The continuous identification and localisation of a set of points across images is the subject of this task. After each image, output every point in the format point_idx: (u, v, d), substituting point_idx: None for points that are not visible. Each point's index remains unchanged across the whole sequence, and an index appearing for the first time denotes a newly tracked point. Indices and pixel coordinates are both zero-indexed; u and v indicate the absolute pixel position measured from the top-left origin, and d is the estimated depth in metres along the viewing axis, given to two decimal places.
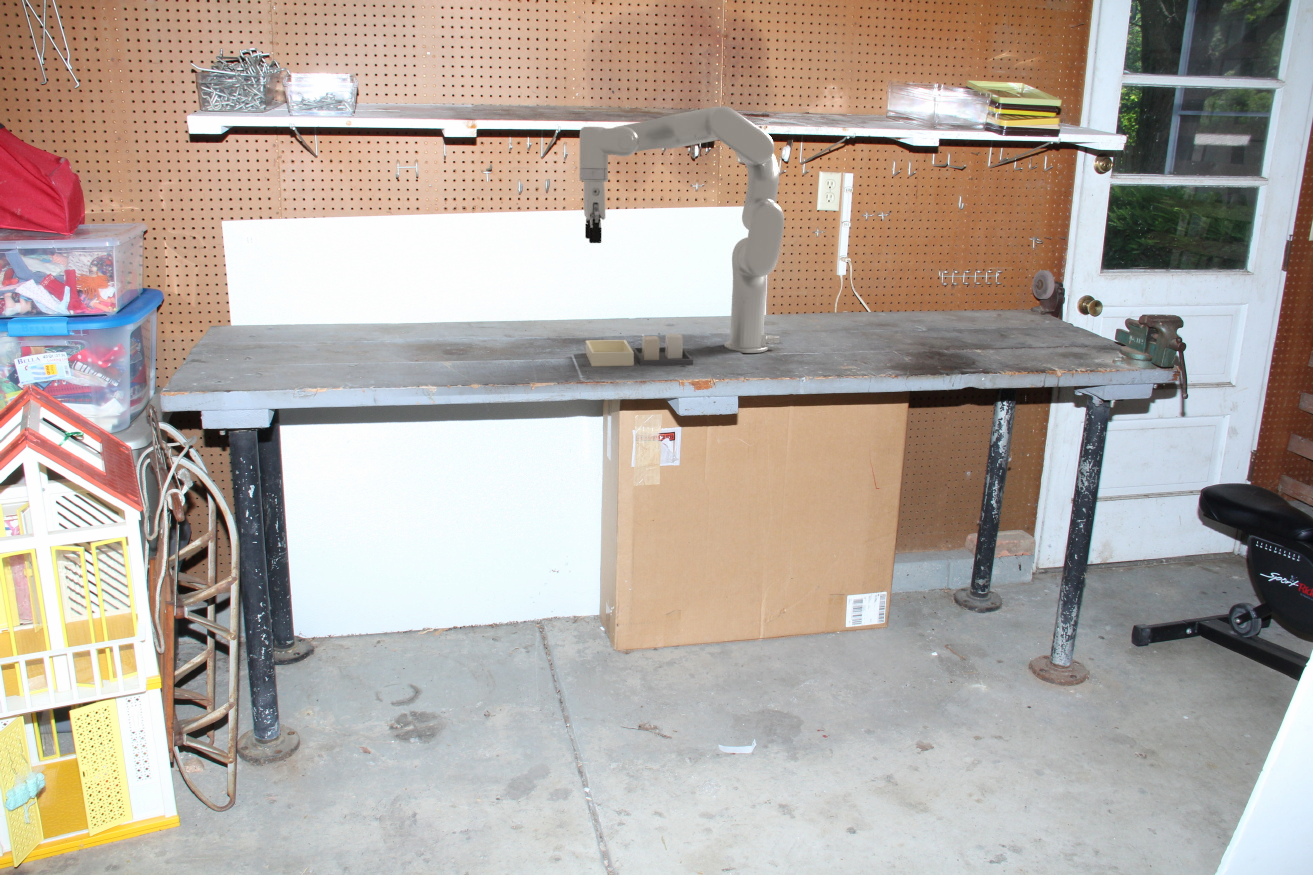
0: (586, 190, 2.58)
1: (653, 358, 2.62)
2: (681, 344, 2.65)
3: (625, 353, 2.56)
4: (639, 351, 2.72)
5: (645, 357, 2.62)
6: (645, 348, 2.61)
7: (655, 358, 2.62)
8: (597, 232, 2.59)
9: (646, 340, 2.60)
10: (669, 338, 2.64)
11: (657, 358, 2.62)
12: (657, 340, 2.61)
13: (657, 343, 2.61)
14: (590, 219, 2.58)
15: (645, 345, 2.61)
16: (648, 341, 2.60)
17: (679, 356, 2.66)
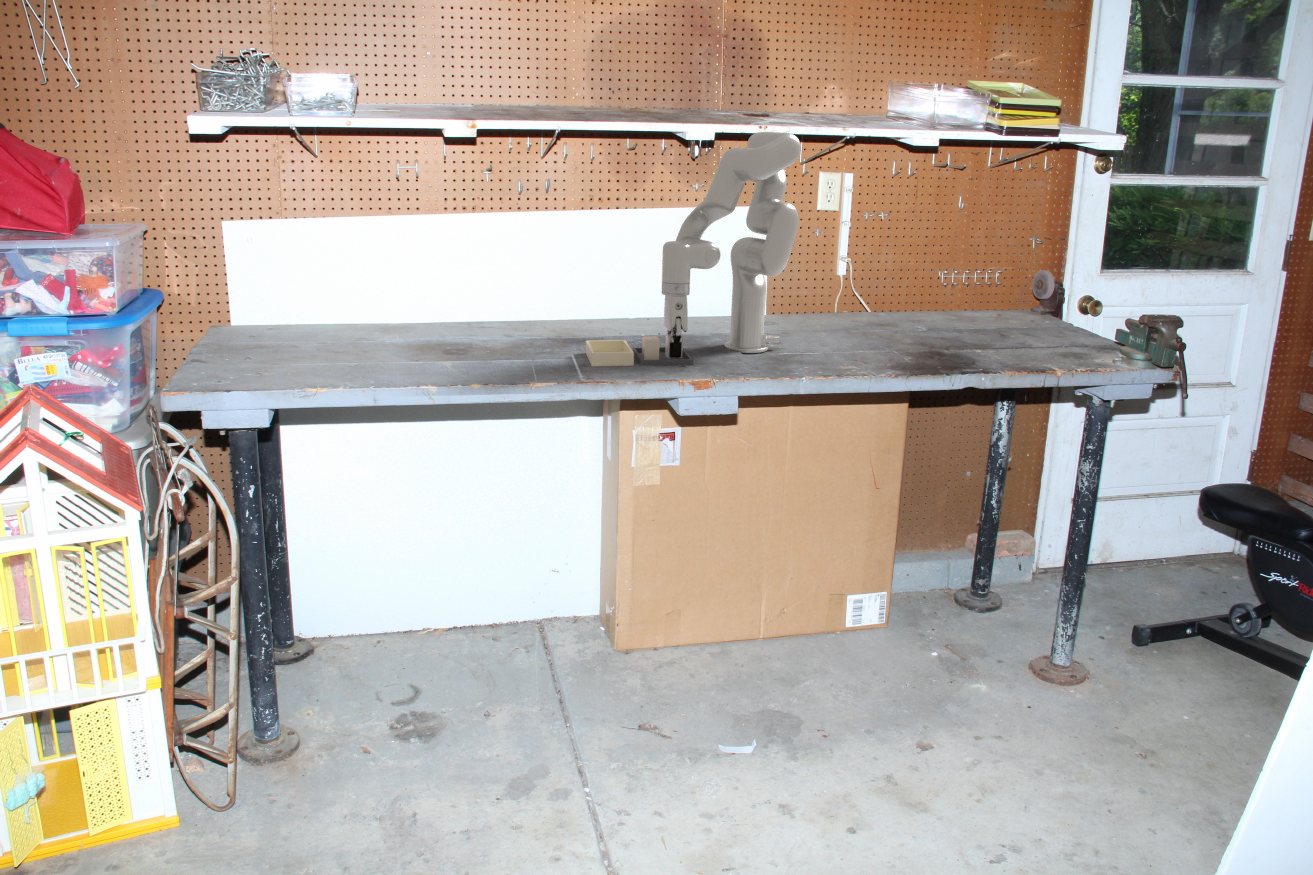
0: (669, 304, 2.60)
1: (653, 358, 2.62)
2: None
3: (625, 353, 2.56)
4: (639, 351, 2.72)
5: (645, 357, 2.62)
6: (645, 348, 2.61)
7: (655, 358, 2.62)
8: (677, 347, 2.64)
9: (646, 340, 2.60)
10: (669, 338, 2.64)
11: (657, 358, 2.62)
12: (657, 340, 2.61)
13: (657, 343, 2.61)
14: (671, 335, 2.63)
15: (645, 345, 2.61)
16: (648, 341, 2.60)
17: None
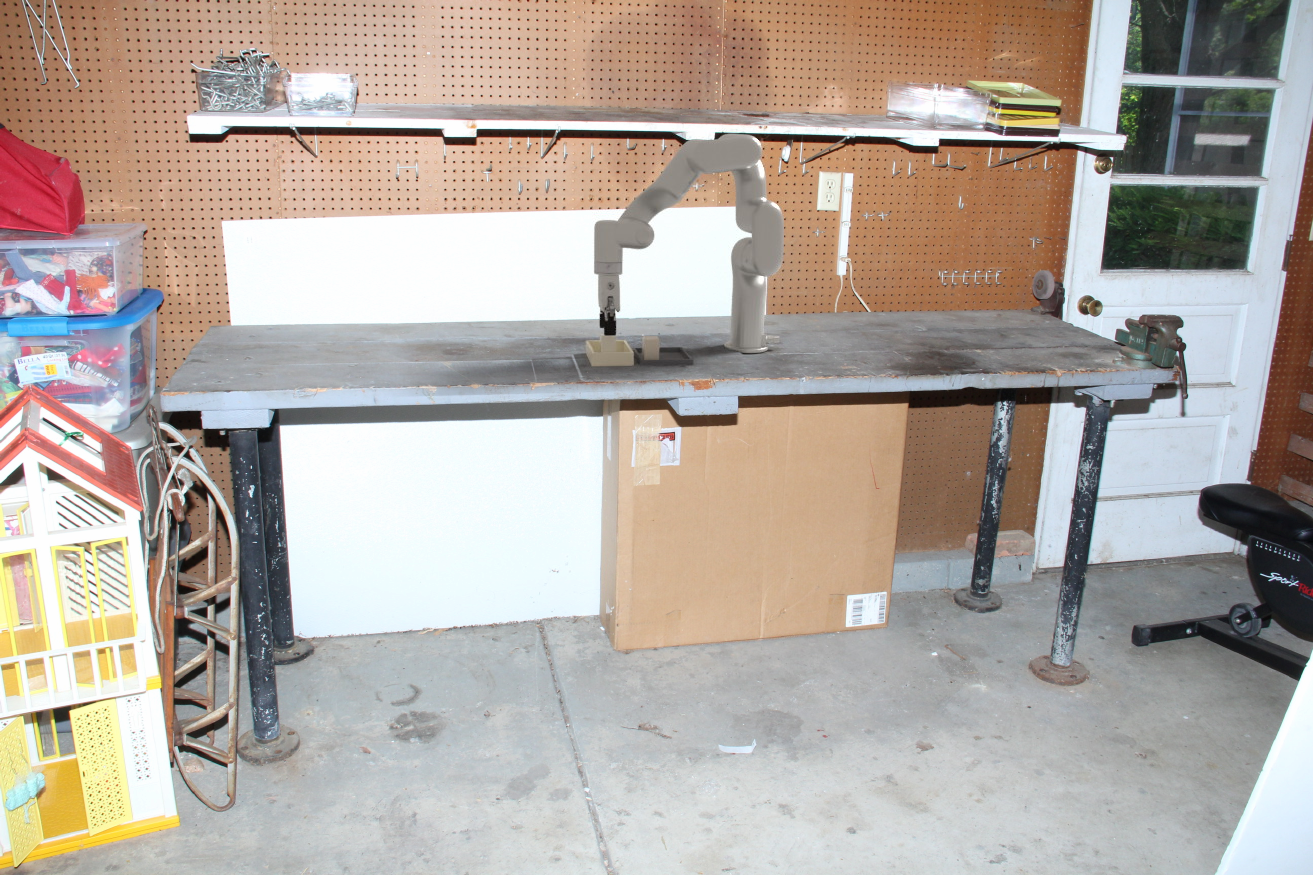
0: (601, 283, 2.57)
1: (653, 358, 2.62)
2: (615, 343, 2.64)
3: (625, 353, 2.56)
4: (639, 351, 2.72)
5: (645, 357, 2.62)
6: (645, 348, 2.61)
7: (655, 358, 2.62)
8: (612, 325, 2.58)
9: (646, 340, 2.60)
10: (602, 337, 2.63)
11: (657, 358, 2.62)
12: (657, 340, 2.61)
13: (657, 343, 2.61)
14: (605, 312, 2.58)
15: (645, 345, 2.61)
16: (648, 341, 2.60)
17: None
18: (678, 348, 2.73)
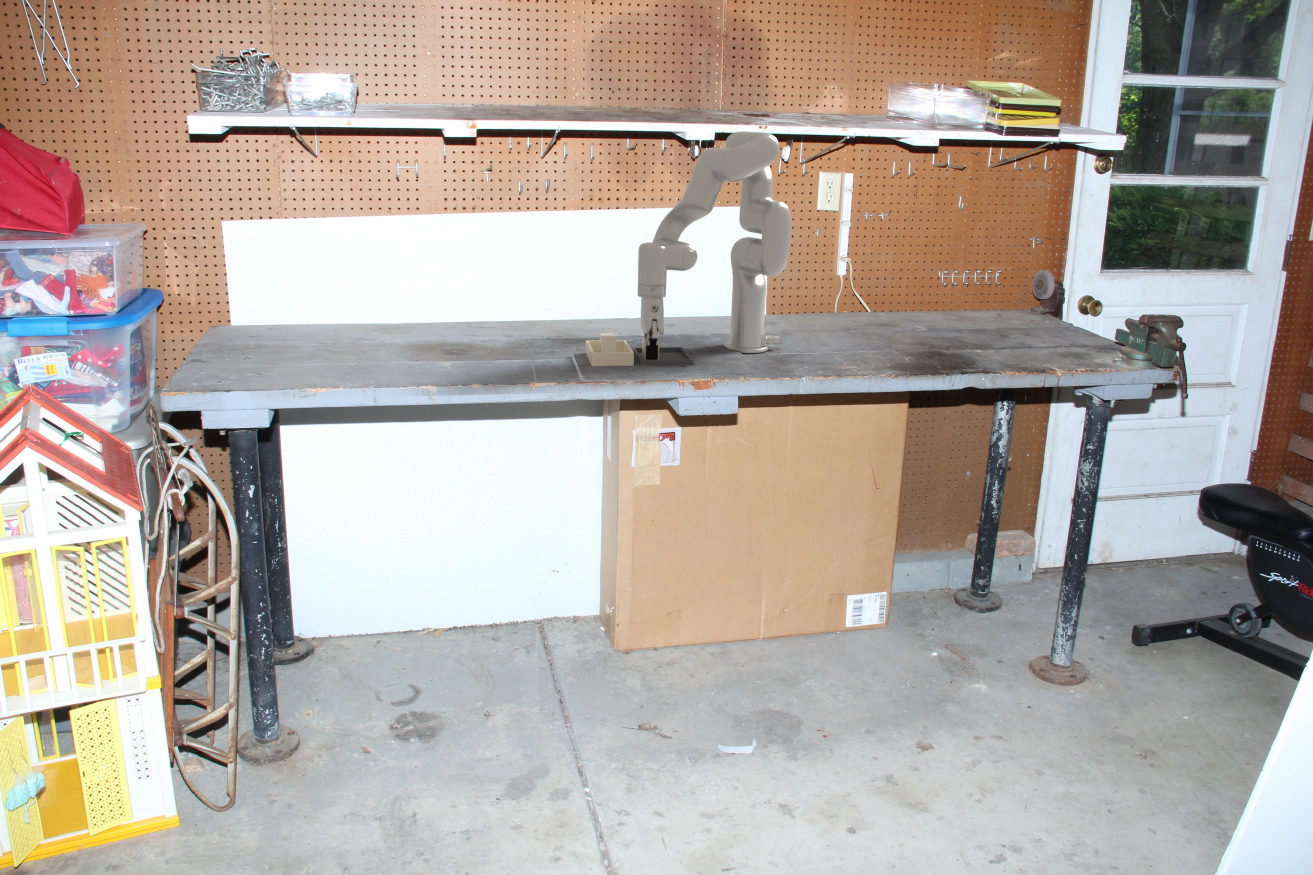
0: (645, 306, 2.56)
1: None
2: (615, 343, 2.64)
3: (625, 353, 2.56)
4: (639, 351, 2.72)
5: (645, 357, 2.62)
6: (645, 348, 2.61)
7: None
8: (654, 350, 2.60)
9: (646, 340, 2.60)
10: (602, 337, 2.63)
11: None
12: None
13: None
14: (647, 338, 2.59)
15: (645, 345, 2.61)
16: None
17: None
18: (678, 348, 2.73)
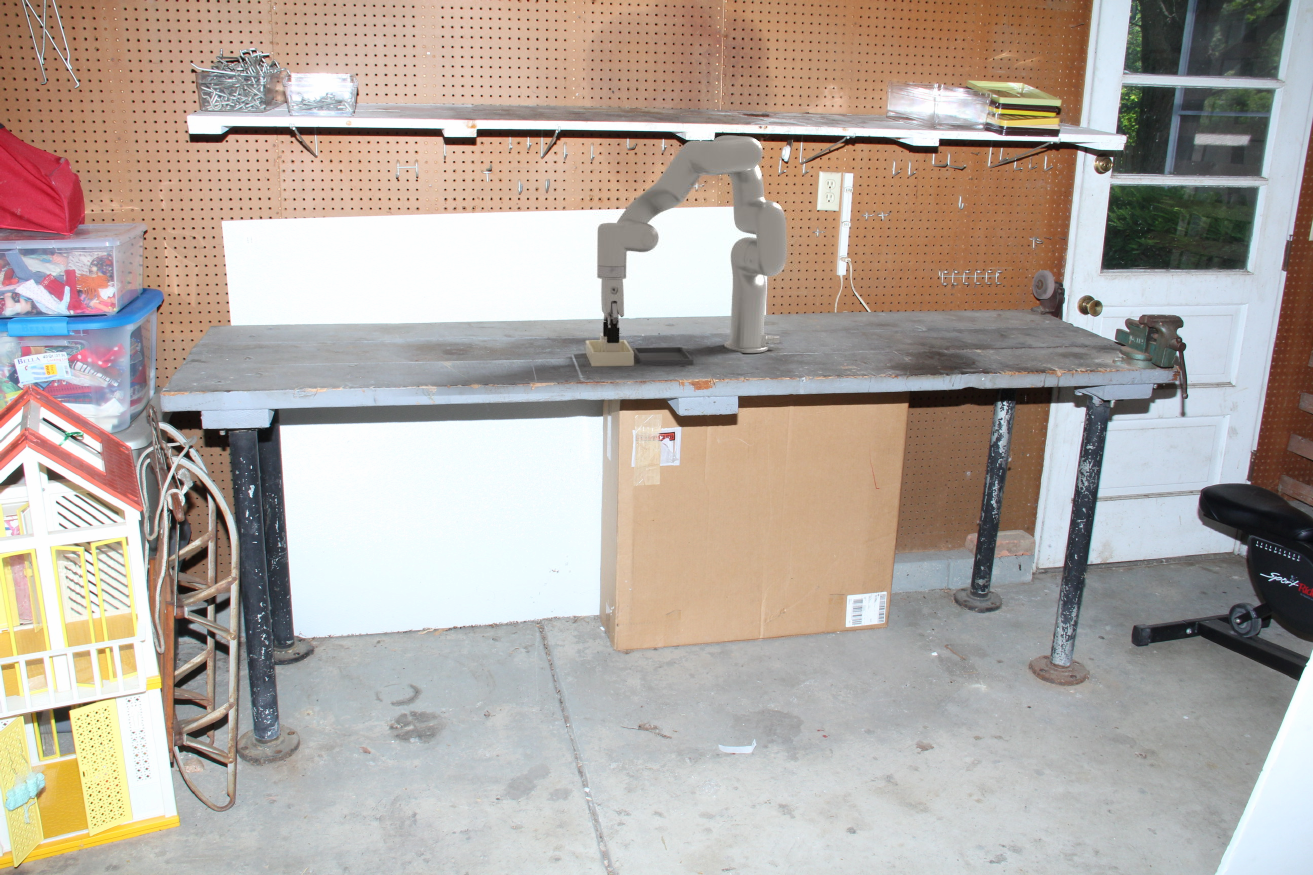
0: (604, 288, 2.51)
1: None
2: None
3: (625, 353, 2.56)
4: (639, 351, 2.72)
5: None
6: (605, 350, 2.57)
7: None
8: (615, 332, 2.53)
9: (606, 342, 2.56)
10: (602, 337, 2.63)
11: None
12: None
13: (617, 345, 2.57)
14: (608, 319, 2.52)
15: (605, 347, 2.57)
16: (608, 344, 2.57)
17: None
18: (678, 348, 2.73)
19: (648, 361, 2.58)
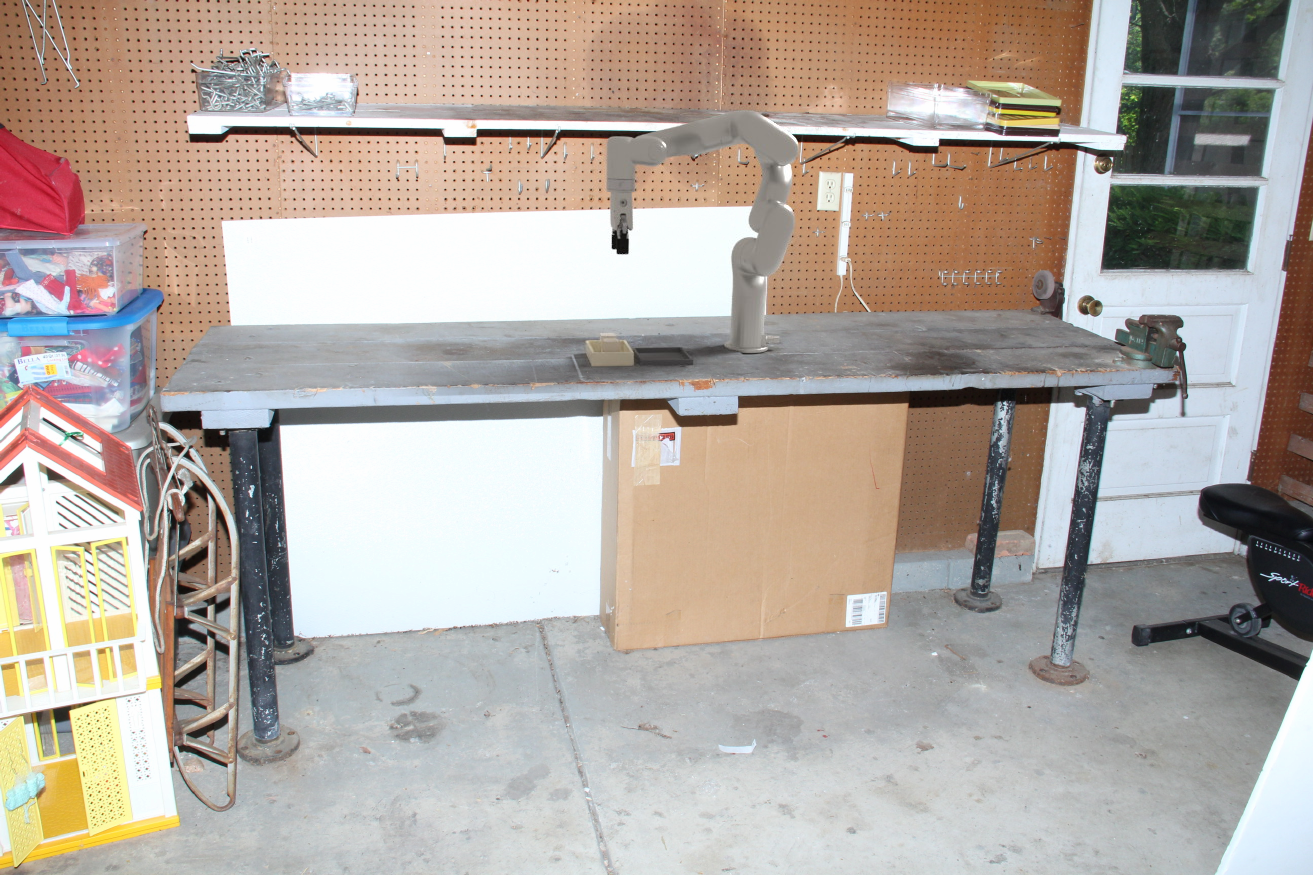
0: (613, 201, 2.54)
1: None
2: None
3: (625, 353, 2.56)
4: (639, 351, 2.72)
5: None
6: (605, 350, 2.57)
7: None
8: (624, 243, 2.55)
9: (606, 342, 2.56)
10: (602, 337, 2.63)
11: None
12: (617, 342, 2.57)
13: (617, 345, 2.57)
14: (617, 230, 2.55)
15: (605, 347, 2.57)
16: (608, 344, 2.57)
17: None
18: (678, 348, 2.73)
19: (648, 361, 2.58)
